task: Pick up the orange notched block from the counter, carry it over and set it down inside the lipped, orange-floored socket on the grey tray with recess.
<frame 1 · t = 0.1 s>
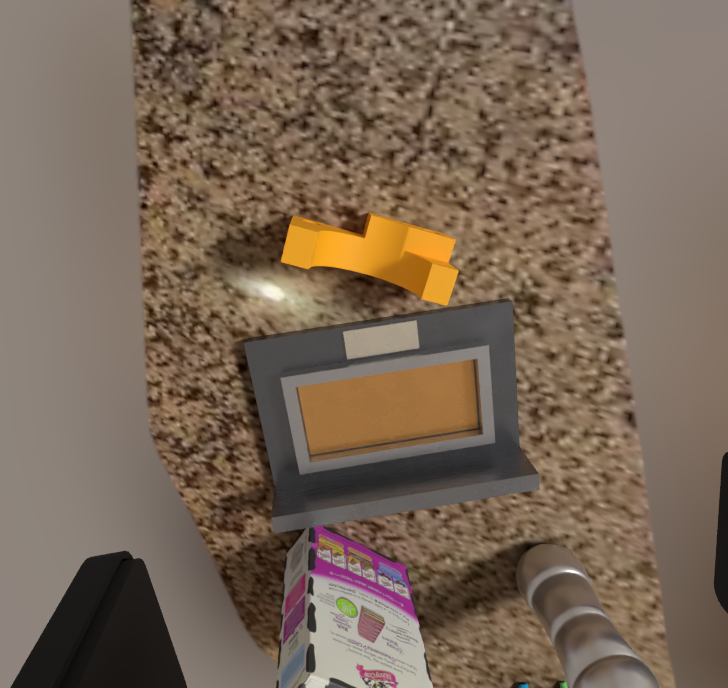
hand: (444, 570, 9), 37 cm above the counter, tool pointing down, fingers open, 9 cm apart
grey tray with recess: (388, 400, 48), on the counter
orange notched block: (366, 240, 44), on the counter
candy bar box: (346, 559, 53), on the counter
plastic bottle: (541, 560, 55), on the counter
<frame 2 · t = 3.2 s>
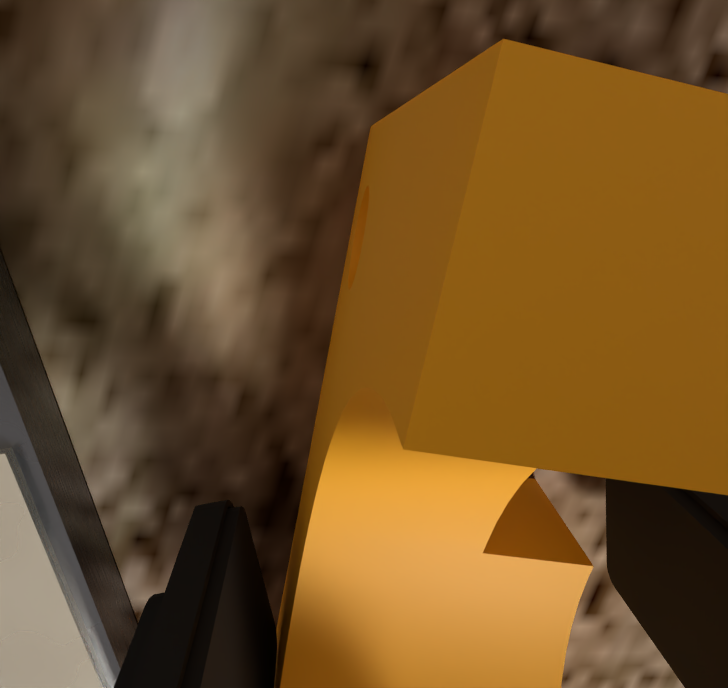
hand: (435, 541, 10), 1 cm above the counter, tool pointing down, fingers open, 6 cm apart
orange notched block: (418, 478, 11), on the counter, touching gripper
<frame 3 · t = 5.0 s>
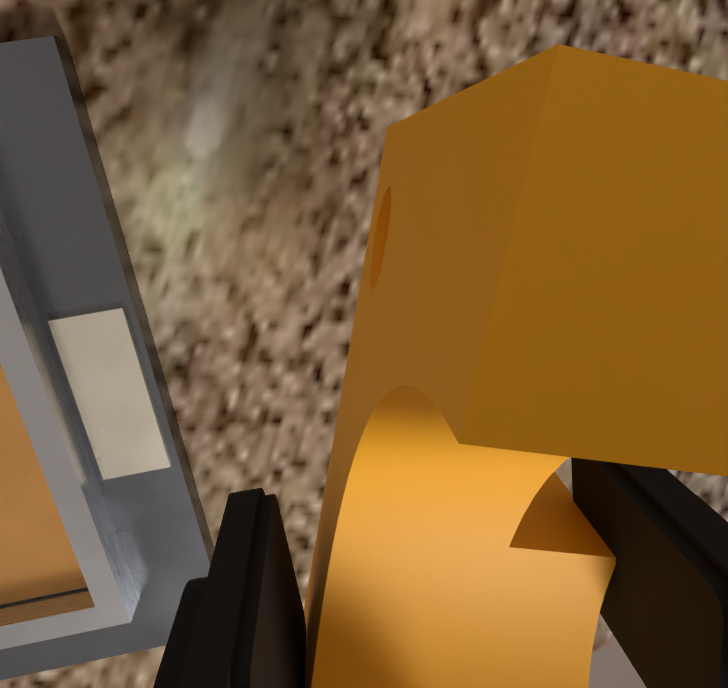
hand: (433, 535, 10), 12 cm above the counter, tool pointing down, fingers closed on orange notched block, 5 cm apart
orange notched block: (439, 475, 11), point 10 cm above the counter, touching gripper
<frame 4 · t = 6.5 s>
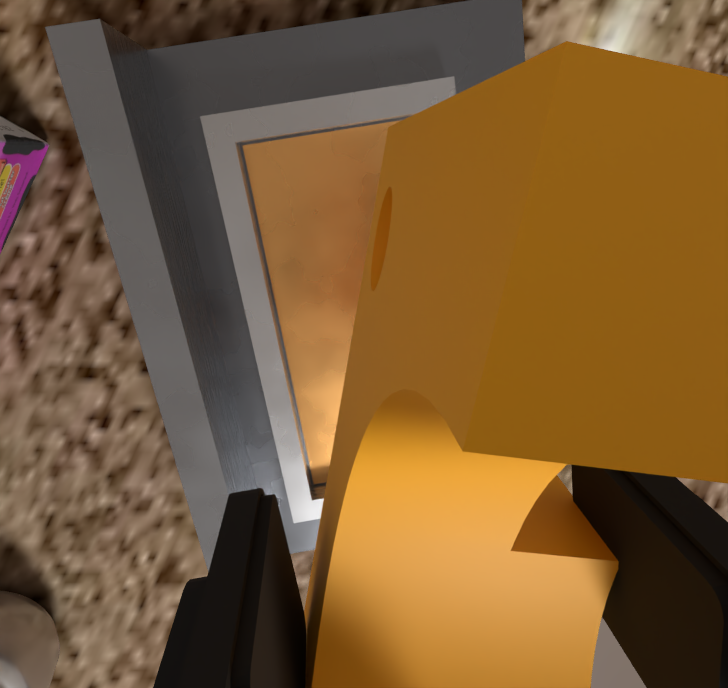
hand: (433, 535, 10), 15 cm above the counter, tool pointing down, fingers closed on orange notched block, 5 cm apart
grey tray with recess: (360, 311, 24), on the counter
orange notched block: (440, 477, 11), point 14 cm above the counter, touching gripper
plastic bottle: (8, 622, 28), on the counter
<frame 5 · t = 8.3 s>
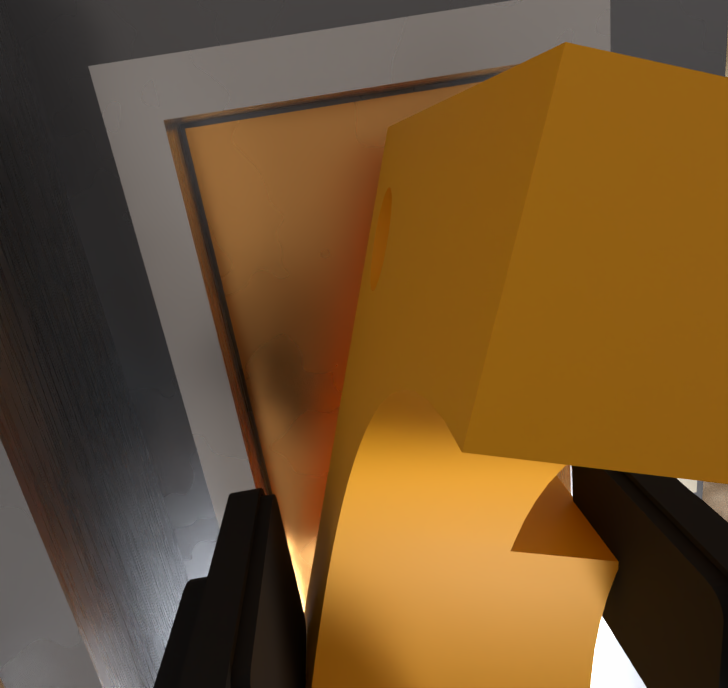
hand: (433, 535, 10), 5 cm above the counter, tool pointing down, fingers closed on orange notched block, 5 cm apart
grey tray with recess: (399, 415, 14), on the counter
orange notched block: (439, 477, 11), point 4 cm above the counter, touching gripper
when the fingers open (3 cm above the counter, at t = 9.5 s): orange notched block drops 1 cm, resting on grey tray with recess.
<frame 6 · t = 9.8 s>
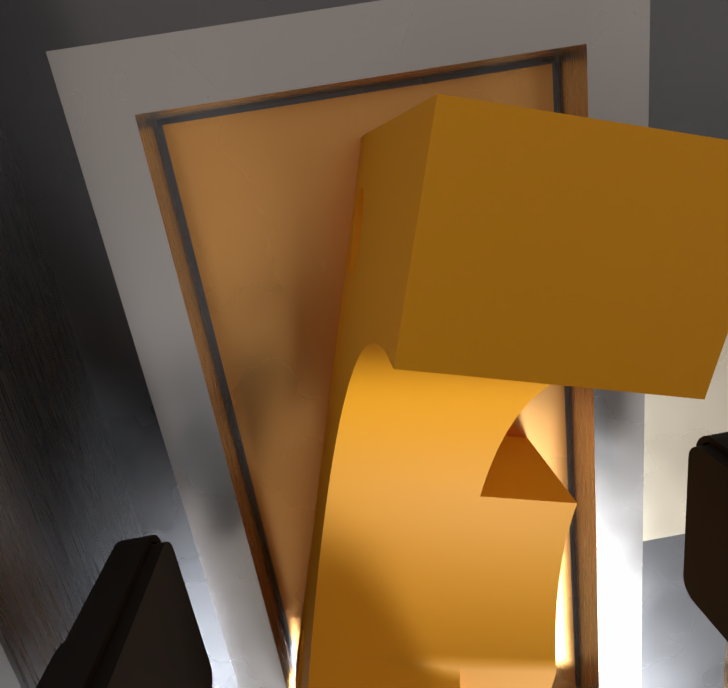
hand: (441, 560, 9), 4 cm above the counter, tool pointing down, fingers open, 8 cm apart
grey tray with recess: (404, 441, 13), on the counter
orange notched block: (423, 443, 12), point 1 cm above the counter, touching grey tray with recess
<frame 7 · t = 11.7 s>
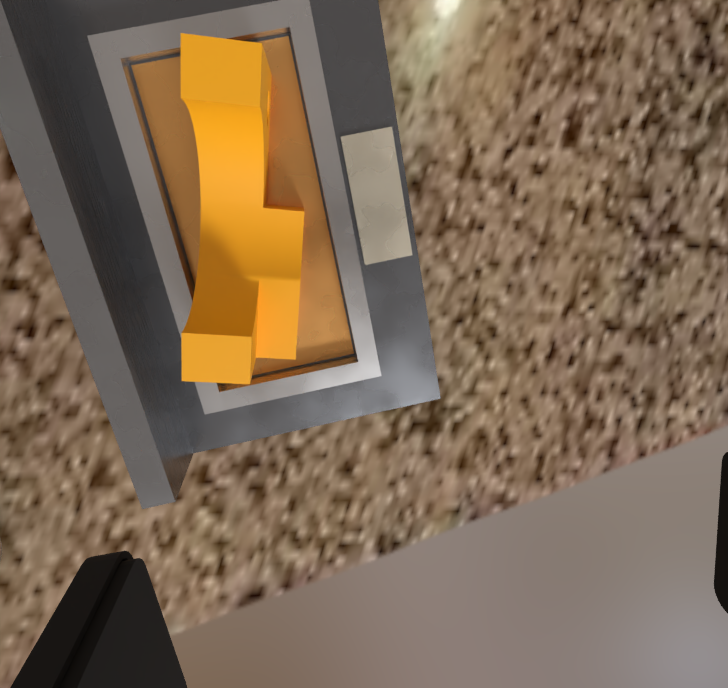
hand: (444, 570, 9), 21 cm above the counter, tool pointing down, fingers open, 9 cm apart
grey tray with recess: (255, 221, 27), on the counter
orange notched block: (257, 213, 26), point 1 cm above the counter, touching grey tray with recess
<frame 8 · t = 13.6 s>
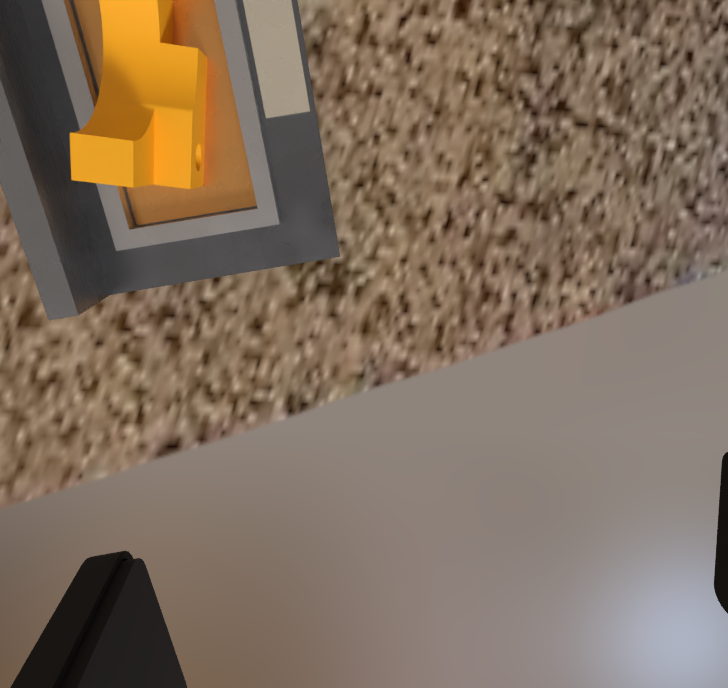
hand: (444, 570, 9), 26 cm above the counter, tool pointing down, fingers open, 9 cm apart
grey tray with recess: (167, 74, 30), on the counter
orange notched block: (165, 61, 29), point 1 cm above the counter, touching grey tray with recess
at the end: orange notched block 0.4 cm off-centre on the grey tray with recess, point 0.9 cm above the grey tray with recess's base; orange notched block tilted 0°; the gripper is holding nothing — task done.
